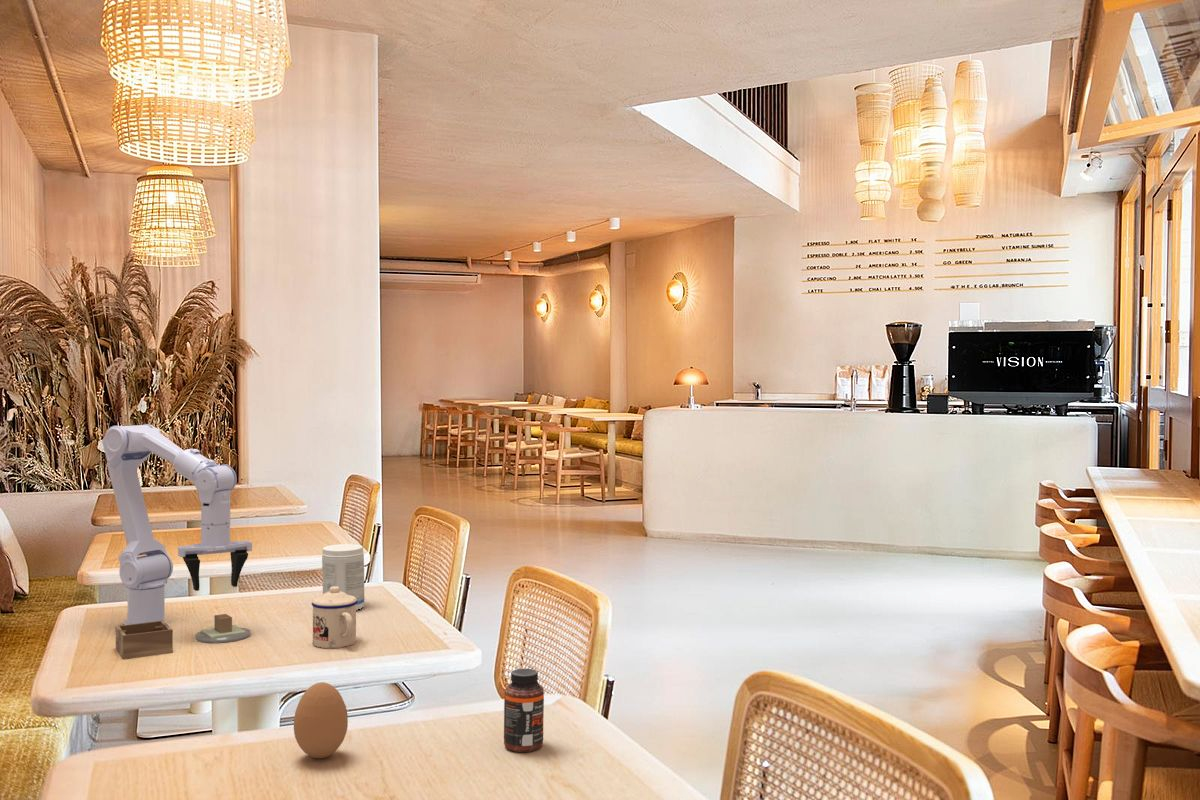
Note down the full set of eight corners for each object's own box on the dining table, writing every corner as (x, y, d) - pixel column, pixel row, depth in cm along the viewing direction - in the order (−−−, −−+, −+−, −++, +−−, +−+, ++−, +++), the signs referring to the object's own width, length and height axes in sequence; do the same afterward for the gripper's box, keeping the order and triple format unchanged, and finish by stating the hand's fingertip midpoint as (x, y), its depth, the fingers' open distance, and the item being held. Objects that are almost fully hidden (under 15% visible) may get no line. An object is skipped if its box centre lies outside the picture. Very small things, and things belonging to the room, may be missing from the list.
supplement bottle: (538, 755, 151) (539, 678, 150) (499, 752, 152) (499, 676, 151) (547, 740, 157) (547, 667, 156) (509, 738, 158) (510, 665, 157)
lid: (200, 632, 217) (200, 615, 216) (234, 627, 221) (234, 610, 221) (210, 639, 211) (210, 622, 211) (246, 634, 215) (246, 617, 215)
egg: (290, 751, 151) (290, 678, 151) (342, 744, 154) (343, 672, 154) (297, 770, 144) (297, 693, 144) (352, 762, 147) (352, 687, 147)
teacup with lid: (304, 642, 212) (304, 586, 211) (345, 635, 218) (345, 580, 217) (329, 655, 202) (329, 596, 202) (371, 647, 208) (371, 590, 208)
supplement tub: (364, 603, 247) (364, 543, 247) (364, 612, 238) (364, 549, 238) (322, 605, 245) (323, 544, 245) (321, 614, 236) (321, 550, 235)
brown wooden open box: (115, 648, 206) (115, 626, 205) (163, 642, 211) (163, 620, 210) (123, 659, 198) (123, 635, 198) (172, 652, 203) (172, 629, 203)
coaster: (189, 634, 217) (189, 631, 217) (243, 627, 223) (243, 624, 223) (202, 645, 208) (202, 642, 208) (257, 638, 214) (257, 635, 214)
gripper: (183, 528, 207) (183, 595, 208) (256, 523, 215) (256, 587, 216) (175, 523, 213) (175, 588, 213) (246, 519, 221) (246, 581, 222)
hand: (215, 587), depth 215 cm, fingers open, 7 cm apart
